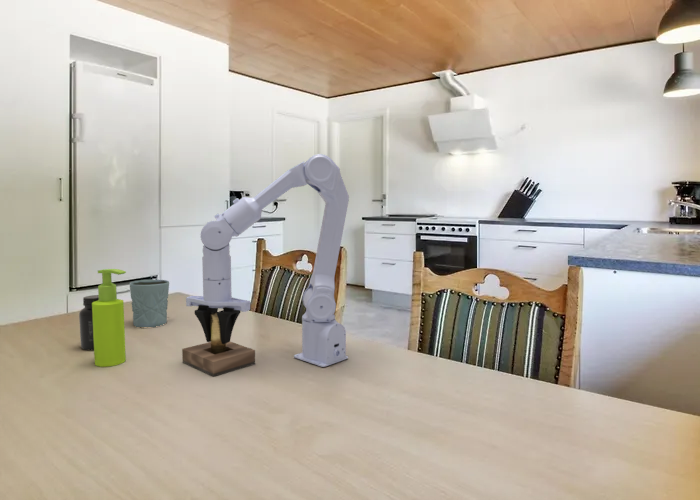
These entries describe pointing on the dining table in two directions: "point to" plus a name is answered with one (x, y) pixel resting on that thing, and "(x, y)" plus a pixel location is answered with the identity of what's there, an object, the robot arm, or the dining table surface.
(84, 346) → the supplement bottle
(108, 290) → the soap dispenser
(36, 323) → the dining table surface
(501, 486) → the dining table surface
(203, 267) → the robot arm
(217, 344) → the brass peg
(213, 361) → the walnut block
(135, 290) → the grey-green plant pot
